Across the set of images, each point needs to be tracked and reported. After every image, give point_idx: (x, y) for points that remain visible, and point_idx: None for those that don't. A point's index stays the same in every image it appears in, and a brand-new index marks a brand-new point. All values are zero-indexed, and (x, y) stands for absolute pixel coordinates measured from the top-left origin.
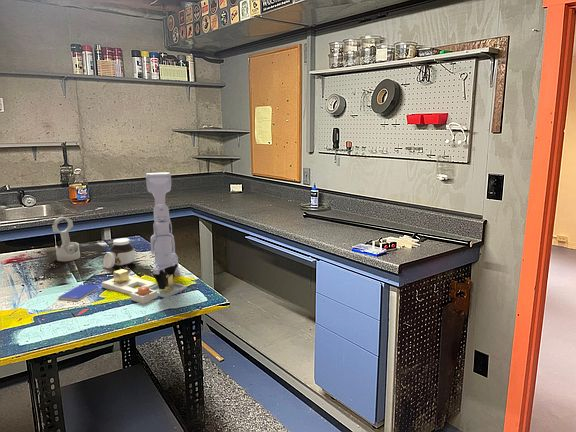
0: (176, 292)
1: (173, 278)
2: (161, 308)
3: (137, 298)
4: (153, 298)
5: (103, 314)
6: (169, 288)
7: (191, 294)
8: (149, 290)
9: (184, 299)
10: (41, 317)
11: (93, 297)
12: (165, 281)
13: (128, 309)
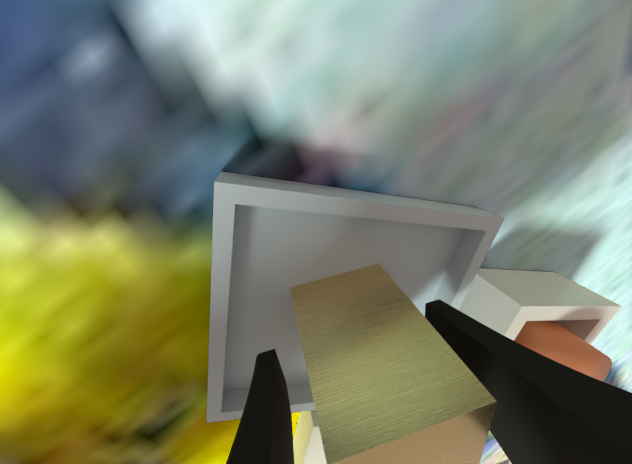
0: (378, 197)
1: (253, 392)
2: (623, 128)
3: None
4: (506, 276)
5: (624, 334)
6: (378, 286)
7: (318, 21)
8: None
9: (463, 27)
10: None
11: None
12: (507, 357)
13: (597, 293)
